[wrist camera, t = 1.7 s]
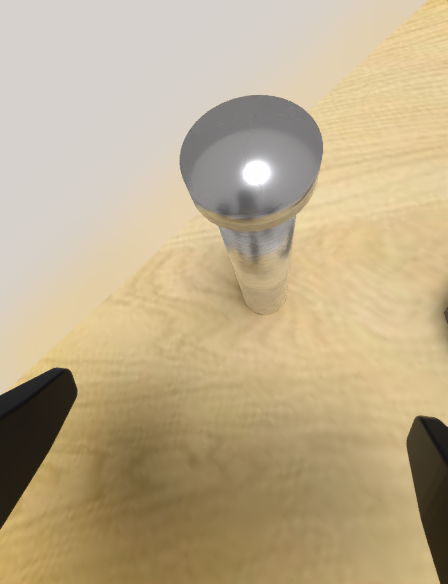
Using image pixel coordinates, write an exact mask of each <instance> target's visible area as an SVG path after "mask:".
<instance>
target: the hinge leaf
mask: <svg viewBox="0 0 448 584" xmlns="http://www.w3.org/2000/svg"><path fill="white" fill-rule="evenodd" d="M444 313H445V316H446V319H447V322H448V308H447V309H446V311H445V312H444Z"/></svg>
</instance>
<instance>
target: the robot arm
mask: <svg viewBox="0 0 448 584" xmlns="http://www.w3.org/2000/svg"><path fill="white" fill-rule="evenodd" d="M76 397H77V387H76V384H75V381H74V378H73V375H72V372H71V371H70V370H69V369H65V368H53V369H51V370H49V371H47V372H45V373H43V374H41V375H39V376H37V377H35V378H33V379H31V380H29V381H27V382H25V383H23V384H21V385H20V386H18V387H16V388H14V389H12V390H10V391H8V392H6V393H4V394H2V395H0V529H1V528H2V526H3V525H4V523H5V521H6V520H7V518H8V517H9V515H10V513H11V512H12V510H13V509H14V507H15V505H16V504H17V502H18V501H19V499H20V497H21V496H22V494H23V492H24V491H25V489H26V488H27V486H28V484H29V483H30V481H31V480H32V478H33V476H34V475H35V473H36V472H37V470H38V468H39V467H40V465H41V464H42V462H43V460H44V459H45V457H46V455H47V454H48V452H49V450H50V449H51V447H52V445H53V443H54V441H55V439H56V437H57V435H58V433H59V431H60V429H61V427H62V425H63V423H64V421H65V419H66V417H67V415H68V413H69V411H70V409H71V407H72V405H73V404H74V402H75V400H76ZM407 452H408V457H409V462H410V467H411V472H412V477H413V482H414V487H415V492H416V497H417V503H418V508H419V512H420V517H421V521H422V524H423V528H424V532H425V535H426V538H427V542H428V545H429V548H430V551H431V555H432V558H433V561H434V565H435V568H436V571H437V574H438V578H439V581H440V584H448V427H447V426H446V425H445V424H444V423H443V422H442V421H440V420H439V419H437V418H435V417H428V416H417V417H415V419H414V422H413V424H412V427H411V429H410V432H409V434H408V437H407Z"/></svg>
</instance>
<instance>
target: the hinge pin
mask: <svg viewBox="0 0 448 584" xmlns="http://www.w3.org/2000/svg"><path fill="white" fill-rule="evenodd" d="M322 154H323V142H322V136H321V133H320V130H319V128H318V126H317V124H316V122H315V121H314V119H313V118H312V117H311V116H310V115H309V114H308V113H307V112H306V111H305V110H304V109H303V108H301V107H300V106H298V105H296V104H295V103H293V102H291V101H288V100H286V99H283V98H279V97H275V96H268V95H252V96H244V97H239V98H235V99H232V100H229V101H227V102H224V103H222V104H220V105H218V106H216V107H214V108H213V109H211V110H210V111H208V112H207V113H206V114H204V115H203V116H202V117H201V118H200V119H199V120H198V121H197V122H196V123H195V124H194V125H193V126H192V128H191V129H190V131H189V132H188V134H187V136H186V138H185V140H184V142H183V145H182V148H181V153H180V169H181V174H182V177H183V180H184V182H185V184H186V187H187V189H188V191H189V193H190V195H191V198H192V200H193V202H194V204H195V206H196V207H197V209H198V210H199V212H200V213H201V214H202V215H203V216H204V217H205V218H207V219H208V220H209V221H211V222H212V223H214V224H216V225H218V226H219V229H220V232H221V235H222V237H223V240H224V243H225V246H226V249H227V252H228V254H229V257H230V260H231V263H232V266H233V269H234V271H235V274H236V277H237V280H238V283H239V286H240V289H241V291H242V294H243V297H244V300H245V302H246V304H247V306H248V307H249V308H250V309H251V310H252V311H254V312H256V313H258V314H271V313H274V312H276V311H278V310H279V309H280V308H281V307H282V306H283V304H284V302H285V299H286V294H287V285H288V277H289V269H290V260H291V252H292V244H293V236H294V227H295V219H296V214H297V213H299V212H300V211H301V210H302V209H303V207H304V206H305V205H306V204H307V203H308V201H309V200H310V198H311V196H312V194H313V192H314V190H315V187H316V184H317V179H318V174H319V170H320V165H321V160H322Z"/></svg>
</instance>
